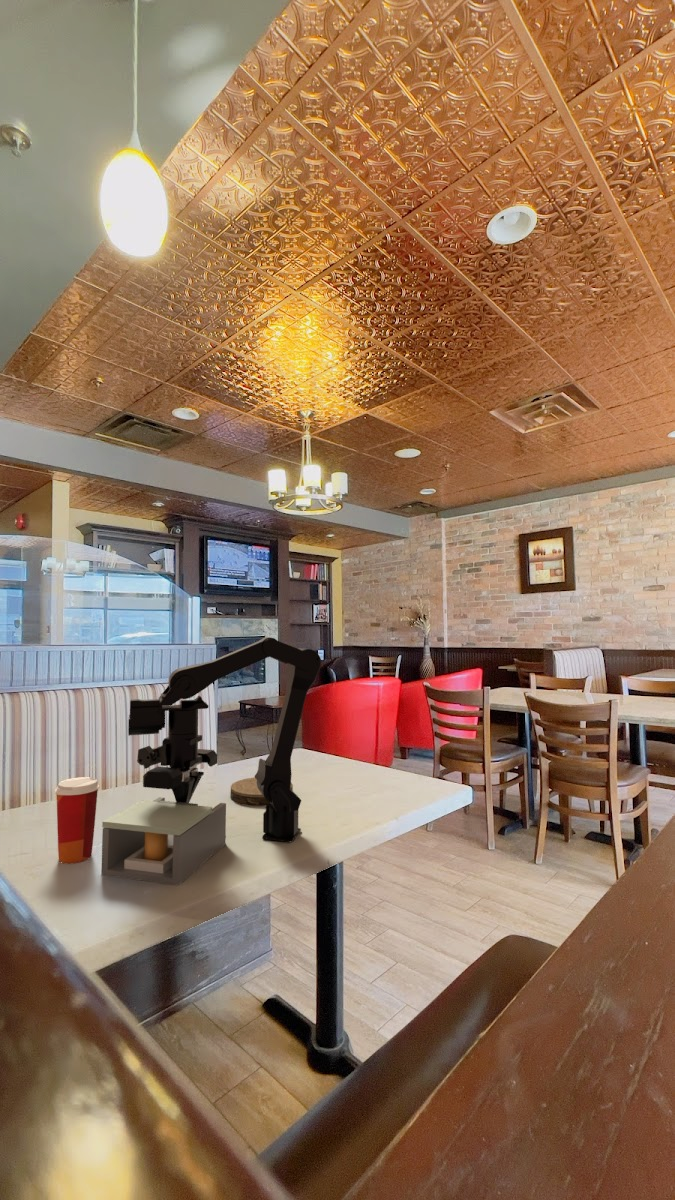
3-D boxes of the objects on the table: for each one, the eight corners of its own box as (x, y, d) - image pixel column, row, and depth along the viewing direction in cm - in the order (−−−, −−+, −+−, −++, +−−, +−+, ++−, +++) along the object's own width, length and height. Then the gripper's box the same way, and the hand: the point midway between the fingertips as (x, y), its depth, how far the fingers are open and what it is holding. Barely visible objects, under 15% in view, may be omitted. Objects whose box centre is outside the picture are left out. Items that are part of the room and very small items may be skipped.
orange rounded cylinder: (172, 858, 99) (172, 825, 99) (159, 867, 95) (159, 833, 95) (153, 855, 100) (153, 822, 100) (139, 865, 96) (140, 830, 96)
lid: (214, 821, 103) (214, 805, 104) (179, 847, 91) (179, 829, 91) (144, 814, 107) (145, 799, 107) (101, 839, 94) (102, 821, 95)
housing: (225, 843, 108) (226, 803, 109) (178, 885, 91) (179, 836, 91) (158, 836, 112) (159, 797, 112) (101, 875, 94) (102, 828, 95)
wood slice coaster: (218, 796, 140) (218, 784, 140) (269, 784, 150) (269, 773, 151) (252, 811, 128) (252, 799, 128) (304, 798, 139) (305, 786, 139)
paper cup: (85, 845, 107) (88, 774, 107) (105, 856, 102) (107, 781, 103) (44, 858, 101) (46, 782, 101) (62, 870, 96) (65, 790, 97)
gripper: (172, 721, 118) (171, 793, 117) (118, 739, 100) (116, 825, 99) (218, 723, 115) (218, 797, 115) (171, 743, 97) (170, 831, 97)
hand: (182, 811), depth 106 cm, fingers closed
